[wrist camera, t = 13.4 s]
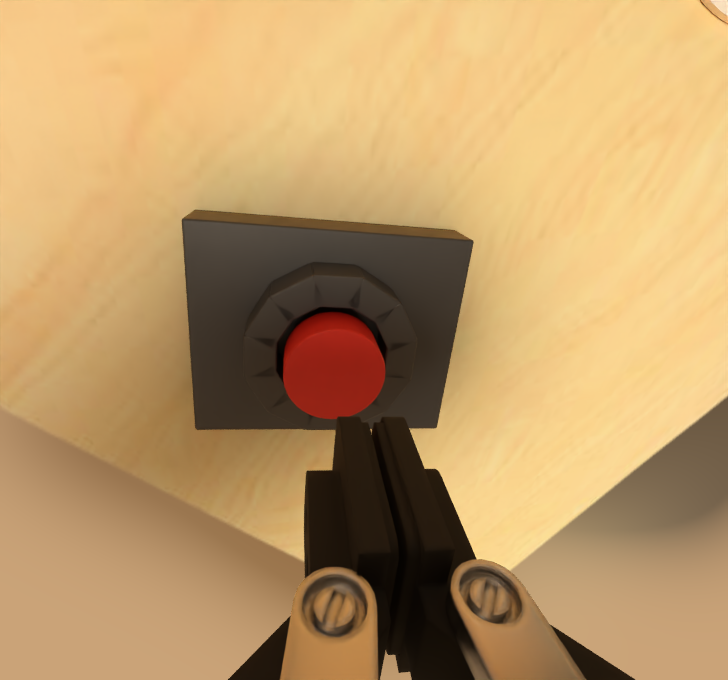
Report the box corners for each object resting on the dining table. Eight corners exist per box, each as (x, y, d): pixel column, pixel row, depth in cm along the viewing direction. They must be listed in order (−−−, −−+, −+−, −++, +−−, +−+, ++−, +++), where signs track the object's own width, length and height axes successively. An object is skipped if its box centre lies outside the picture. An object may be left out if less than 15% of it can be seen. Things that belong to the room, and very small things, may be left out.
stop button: (282, 394, 17) (281, 419, 16) (285, 308, 16) (284, 327, 14) (372, 395, 18) (379, 420, 16) (382, 312, 16) (391, 331, 15)
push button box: (204, 403, 21) (185, 457, 17) (193, 209, 17) (168, 227, 14) (424, 404, 23) (449, 453, 19) (456, 230, 19) (493, 250, 16)
